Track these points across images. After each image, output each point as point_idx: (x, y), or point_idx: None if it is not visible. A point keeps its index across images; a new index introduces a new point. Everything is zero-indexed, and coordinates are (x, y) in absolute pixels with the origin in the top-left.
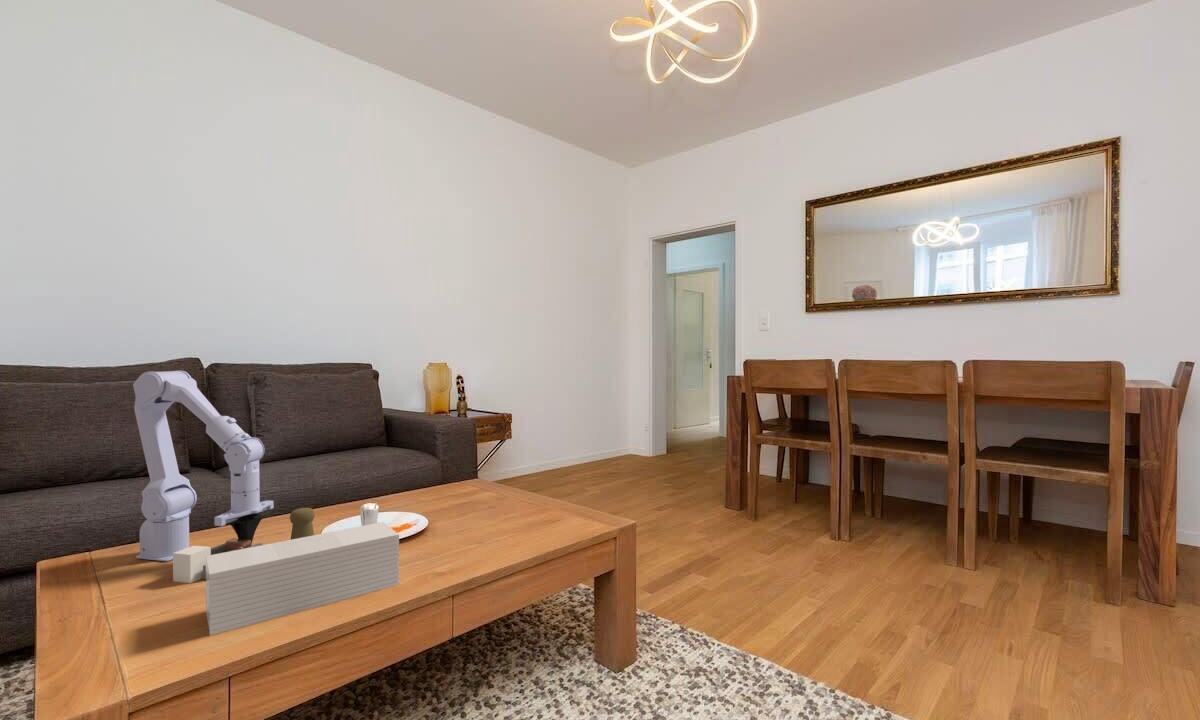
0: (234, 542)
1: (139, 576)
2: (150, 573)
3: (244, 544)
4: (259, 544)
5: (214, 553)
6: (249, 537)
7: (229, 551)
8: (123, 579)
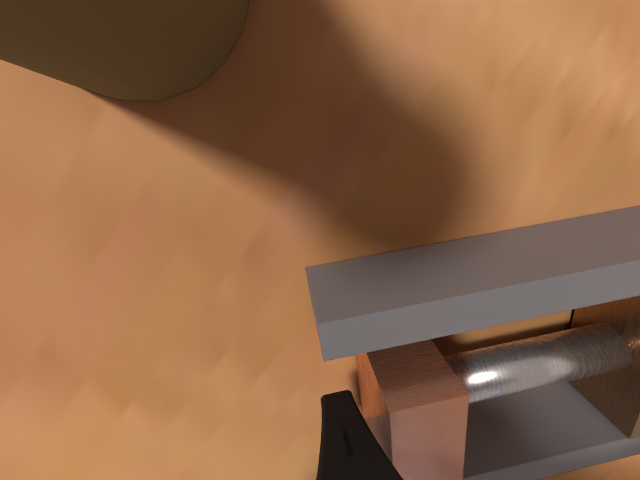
0: (461, 455)
1: (612, 467)
2: (586, 467)
3: (448, 380)
4: (343, 327)
5: (482, 443)
6: (371, 457)
7: (476, 394)
8: (635, 477)
